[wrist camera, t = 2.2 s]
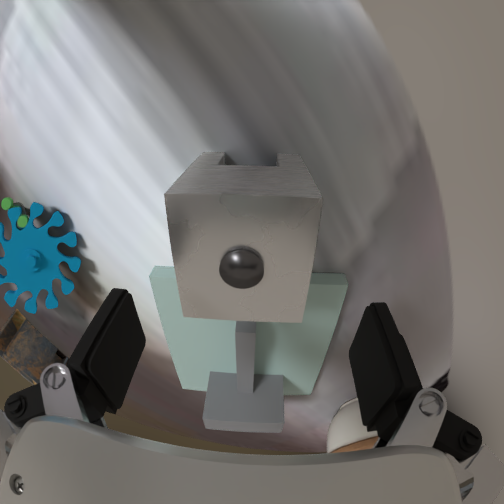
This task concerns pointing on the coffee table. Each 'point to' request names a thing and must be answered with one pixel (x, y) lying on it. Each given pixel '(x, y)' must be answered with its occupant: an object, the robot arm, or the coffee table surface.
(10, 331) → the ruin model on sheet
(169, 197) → the grey box with knob
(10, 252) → the gear
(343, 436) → the lidded bowl
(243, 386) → the plate with grey stand
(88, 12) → the coffee table surface
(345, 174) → the coffee table surface
